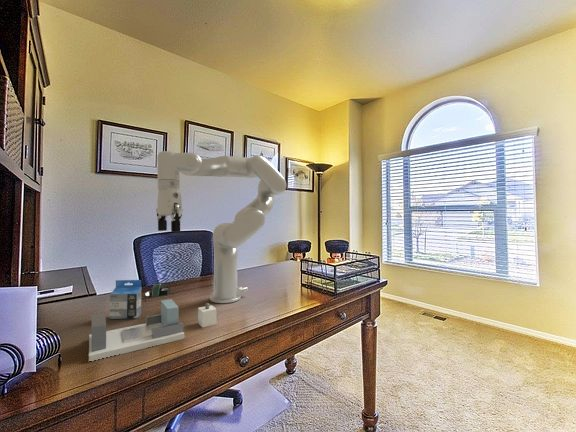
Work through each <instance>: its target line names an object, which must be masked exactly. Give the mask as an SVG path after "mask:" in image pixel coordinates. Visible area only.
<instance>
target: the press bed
mask: <svg viewBox="0 0 576 432" xmlns="http://www.w3.org/2000/svg"><path fill="white" fill-rule="evenodd" d="M145 323H146V325H145V326H140V327H135V328H130V329H125V330H122V336H123V340H124V343H125V342H130V341H134V340H139V339H143V338H147V337H152V339H154V338H159V337H163V336H167V335H171V334H176V333H180V332H184V322H183V321H181V322H179V323H176V324H171V325H166V326H162V327H157V328H152V330H151V328H150V326H149V325H153V324H158V323H161V313H159V314H153V315H147V316H146V317H145ZM106 331H107V319H106V312H101V313H95V314H91V334H92V345H91V352H93V351H97V350H102V349H106Z"/></svg>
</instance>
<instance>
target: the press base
mask: <svg viewBox="0 0 576 432" xmlns="http://www.w3.org/2000/svg"><path fill="white" fill-rule="evenodd" d="M145 325H146V322H145V323H140V324H136V325H131V326H125V327H120V328H115V329H111V330H106V349H102V350H97V351H93V352H91V345H92V333H91V334H88V336H89V338H88V339H89V340H88V346H89V347H88V362H89V361H92V362H95V361H94V360H96V361H98V359H100V360H103V359H102V358H104V359H107V358H106V357H108V358H111V357H110V356H112V357H115V356H114V355H116V356H120V355H123V354H128V353H131V352H135V351H140V350H145V349H148V347H149V348H152V346H153V347H157V346H160V345H165V344H169V343H171V342H177V341H180V340H184V339H185V332H184V331H183V332H180V333H176V334H171V335H167V336H163V337H159V338H154V339H152V337H147V338H143V339H139V340H134V341H130V342H125V343H124V340H123V336H122V330H125V329H130V328H135V327H140V326H145ZM149 326H150V328H151V330H152V328H157V327H162V326H163V325H162V323H158V324H153V325H149ZM156 345H157V346H156ZM119 354H120V355H119Z"/></svg>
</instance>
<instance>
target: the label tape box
mask: <svg viewBox="0 0 576 432" xmlns="http://www.w3.org/2000/svg"><path fill="white" fill-rule="evenodd" d="M141 315H142V280H141V279H120V280H118V279H116V280H115V288H114V289H112V292H111V293H110V294H109V320H116V319H117V320H119V319H121V320H123V319H126V320H128V319H138V318H139V317H140V316H141Z"/></svg>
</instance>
